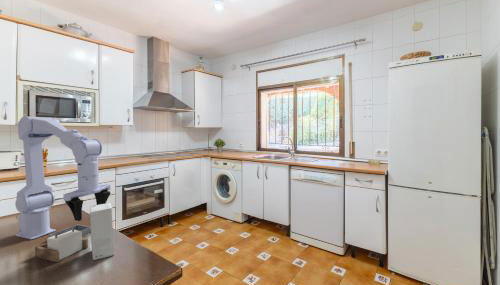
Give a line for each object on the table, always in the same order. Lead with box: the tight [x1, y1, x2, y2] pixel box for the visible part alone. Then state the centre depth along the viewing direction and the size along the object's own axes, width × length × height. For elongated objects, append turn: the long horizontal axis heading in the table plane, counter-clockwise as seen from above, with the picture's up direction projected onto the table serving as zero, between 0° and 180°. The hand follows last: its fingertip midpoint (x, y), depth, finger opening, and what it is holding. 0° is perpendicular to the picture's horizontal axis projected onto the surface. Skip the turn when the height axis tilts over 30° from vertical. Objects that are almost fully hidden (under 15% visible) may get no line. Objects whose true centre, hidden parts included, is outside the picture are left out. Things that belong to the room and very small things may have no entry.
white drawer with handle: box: [46, 228, 83, 261], centre depth 74 cm, size 5×7×7 cm
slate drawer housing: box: [48, 223, 91, 238], centre depth 87 cm, size 8×10×2 cm
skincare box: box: [89, 202, 115, 261], centre depth 74 cm, size 8×6×15 cm
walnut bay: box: [34, 237, 89, 263], centre depth 75 cm, size 10×9×3 cm
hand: (89, 216), depth 79 cm, fingers open, 7 cm apart
